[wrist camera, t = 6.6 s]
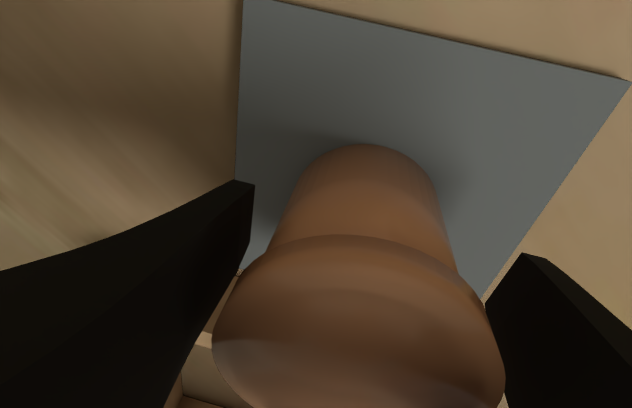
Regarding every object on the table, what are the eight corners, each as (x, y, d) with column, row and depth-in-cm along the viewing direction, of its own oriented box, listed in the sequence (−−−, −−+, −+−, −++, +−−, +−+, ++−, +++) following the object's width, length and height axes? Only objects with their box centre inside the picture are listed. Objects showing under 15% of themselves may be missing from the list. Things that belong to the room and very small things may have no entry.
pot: (479, 163, 10) (581, 336, 5) (409, 287, 13) (427, 470, 8) (300, 113, 10) (219, 232, 5) (273, 248, 13) (206, 404, 8)
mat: (623, 79, 8) (633, 82, 8) (458, 319, 14) (460, 327, 14) (248, -6, 9) (243, -7, 9) (233, 259, 14) (230, 265, 14)
